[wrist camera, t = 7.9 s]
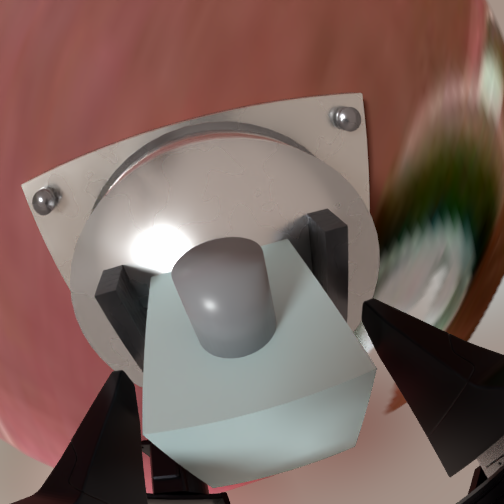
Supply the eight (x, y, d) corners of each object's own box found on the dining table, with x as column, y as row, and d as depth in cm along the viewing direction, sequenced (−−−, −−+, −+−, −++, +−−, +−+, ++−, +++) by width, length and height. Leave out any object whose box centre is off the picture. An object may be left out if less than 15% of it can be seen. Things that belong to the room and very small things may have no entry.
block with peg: (300, 334, 13) (355, 446, 8) (193, 364, 13) (212, 487, 7) (279, 185, 9) (389, 296, 4) (130, 227, 9) (88, 380, 4)
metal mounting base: (358, 301, 20) (407, 365, 15) (129, 366, 19) (126, 446, 13) (351, 92, 13) (443, 101, 7) (29, 179, 11) (-44, 235, 6)
